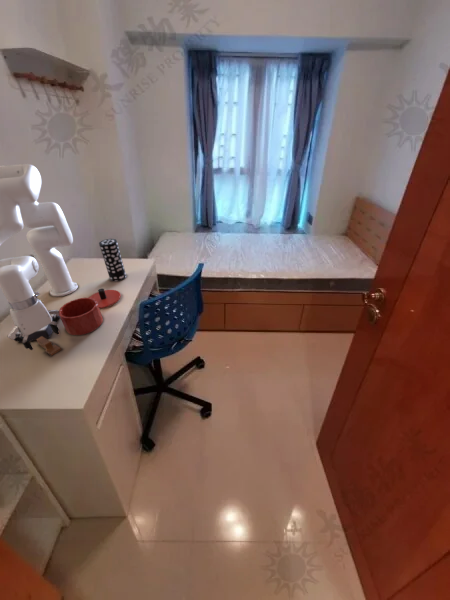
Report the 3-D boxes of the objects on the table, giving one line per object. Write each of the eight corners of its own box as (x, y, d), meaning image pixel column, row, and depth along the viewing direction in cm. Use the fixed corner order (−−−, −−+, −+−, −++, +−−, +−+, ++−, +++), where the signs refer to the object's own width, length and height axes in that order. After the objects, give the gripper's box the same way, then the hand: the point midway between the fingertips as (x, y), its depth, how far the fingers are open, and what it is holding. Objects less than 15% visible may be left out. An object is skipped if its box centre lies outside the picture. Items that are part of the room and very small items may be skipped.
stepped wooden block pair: (37, 346, 105) (33, 340, 104) (46, 340, 108) (44, 334, 106) (51, 355, 100) (48, 350, 99) (61, 349, 103) (58, 343, 102)
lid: (80, 303, 129) (76, 293, 126) (107, 288, 139) (104, 278, 136) (100, 313, 122) (97, 302, 118) (127, 296, 132) (125, 286, 129)
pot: (59, 328, 114) (51, 311, 109) (89, 310, 124) (83, 294, 119) (79, 339, 107) (72, 322, 103) (109, 320, 117) (104, 303, 112)
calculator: (57, 308, 119) (45, 329, 106) (61, 317, 121) (49, 338, 109) (29, 312, 118) (13, 333, 105) (33, 321, 120) (18, 342, 107)
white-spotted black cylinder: (112, 274, 152) (101, 239, 141) (127, 273, 152) (118, 238, 141) (108, 282, 145) (96, 245, 134) (124, 280, 145) (114, 244, 134)
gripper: (43, 287, 101) (60, 324, 110) (-11, 311, 89) (13, 351, 98) (54, 292, 97) (71, 330, 107) (0, 318, 85) (24, 359, 95)
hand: (43, 340), depth 102 cm, fingers open, 9 cm apart
